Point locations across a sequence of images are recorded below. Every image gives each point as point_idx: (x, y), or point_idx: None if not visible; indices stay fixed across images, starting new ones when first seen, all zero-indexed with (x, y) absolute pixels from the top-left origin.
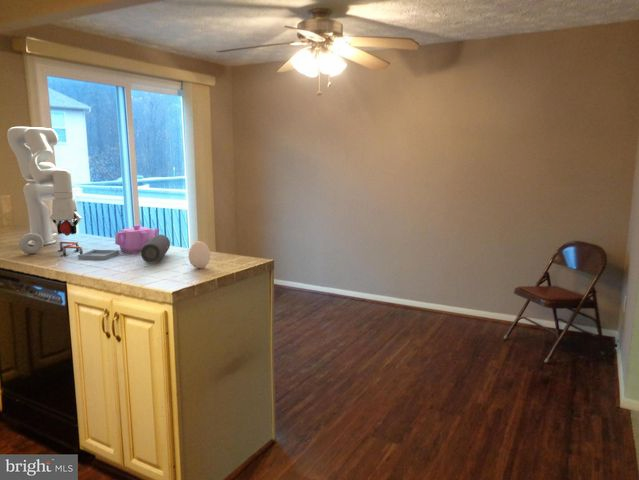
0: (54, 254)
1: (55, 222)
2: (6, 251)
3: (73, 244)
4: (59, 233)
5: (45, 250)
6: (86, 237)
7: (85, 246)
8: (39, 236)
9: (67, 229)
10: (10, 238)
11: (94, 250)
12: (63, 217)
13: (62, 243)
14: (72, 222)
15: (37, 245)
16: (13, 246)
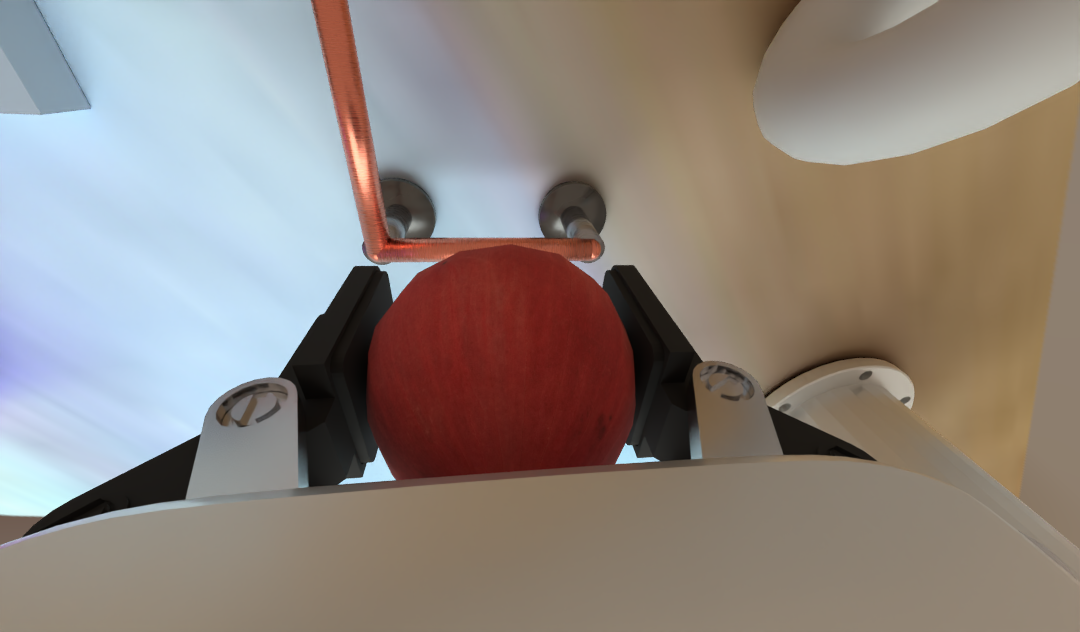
0: (549, 4)
1: (787, 437)
2: (1066, 137)
3: (344, 148)
4: (610, 271)
5: (730, 216)
6: None
7: None
8: (903, 81)
9: (411, 285)
10: (998, 477)
11: (4, 85)
12: (411, 628)
13: (566, 239)
14: (208, 465)
15: (825, 38)
16: (994, 321)
